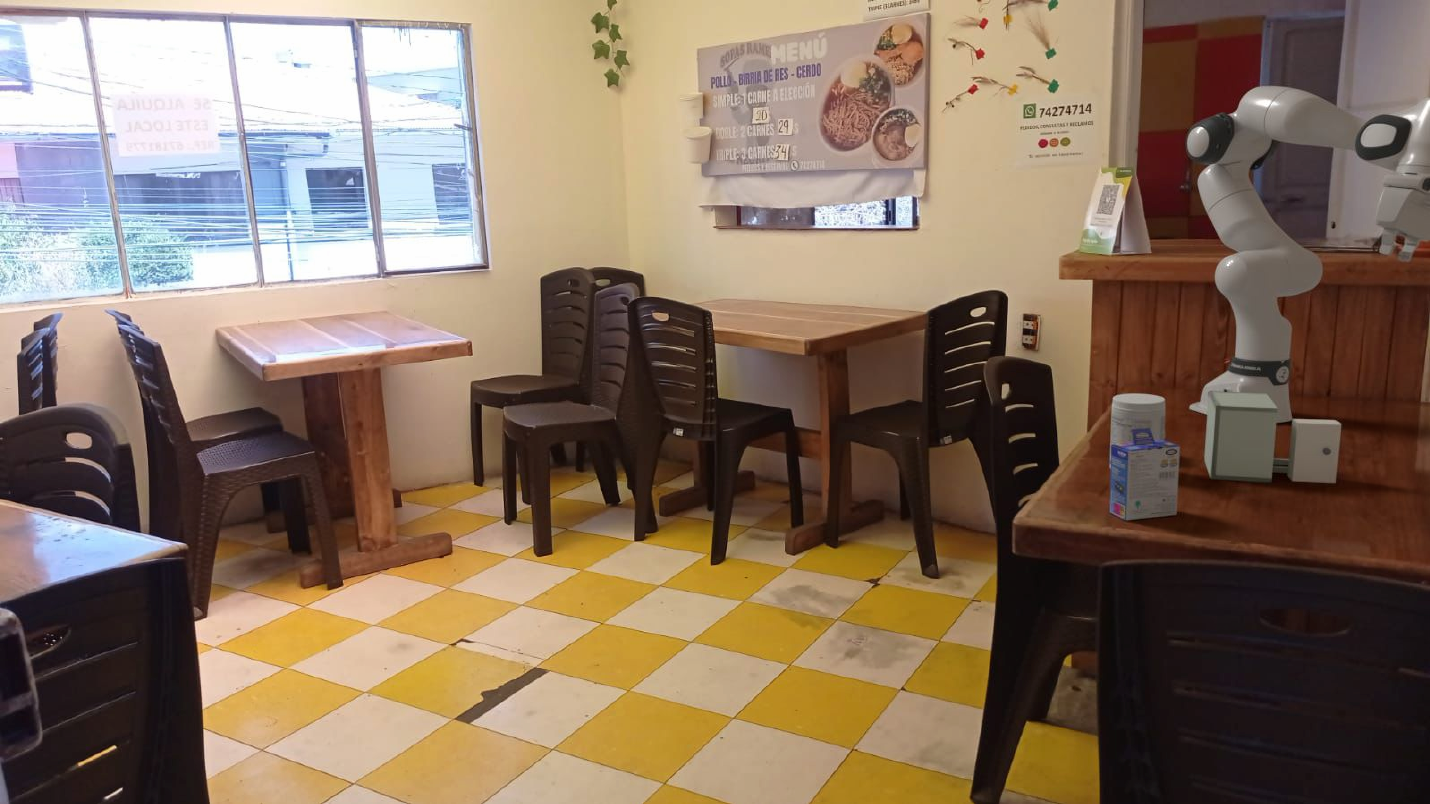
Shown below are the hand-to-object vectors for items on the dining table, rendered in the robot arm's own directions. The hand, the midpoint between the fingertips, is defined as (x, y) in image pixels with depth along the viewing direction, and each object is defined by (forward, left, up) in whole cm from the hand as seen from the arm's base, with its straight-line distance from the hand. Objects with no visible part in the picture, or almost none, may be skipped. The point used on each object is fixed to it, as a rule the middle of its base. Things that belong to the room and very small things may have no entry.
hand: (1394, 257), depth 189 cm
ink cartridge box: (+9, -67, -39) cm, 78 cm away
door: (+7, -25, -39) cm, 47 cm away
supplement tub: (-11, -50, -39) cm, 64 cm away
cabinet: (-1, -29, -39) cm, 49 cm away
